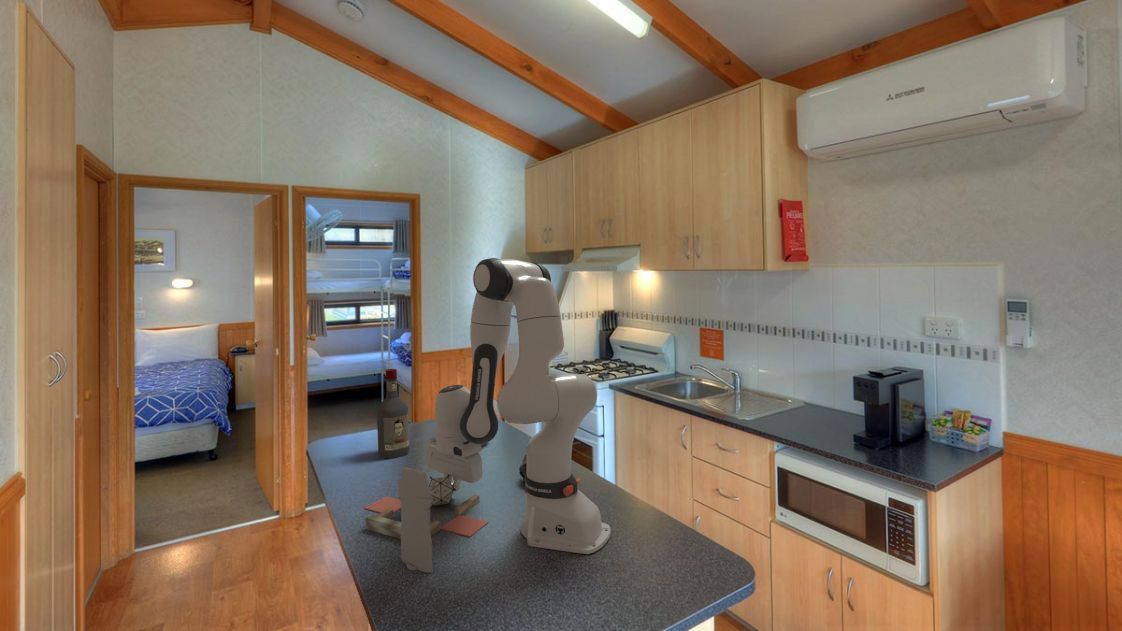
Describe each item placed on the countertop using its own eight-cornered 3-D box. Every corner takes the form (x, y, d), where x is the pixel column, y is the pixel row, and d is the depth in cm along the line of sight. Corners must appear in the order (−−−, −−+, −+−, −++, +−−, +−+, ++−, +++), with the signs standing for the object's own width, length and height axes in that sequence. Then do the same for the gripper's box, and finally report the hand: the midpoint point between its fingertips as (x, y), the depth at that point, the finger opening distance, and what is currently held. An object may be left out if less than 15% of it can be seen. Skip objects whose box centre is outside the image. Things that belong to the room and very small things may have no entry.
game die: (444, 520, 145) (445, 502, 139) (417, 506, 147) (417, 487, 140) (461, 494, 152) (463, 475, 145) (436, 481, 153) (436, 462, 147)
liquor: (376, 453, 187) (372, 369, 184) (400, 447, 193) (397, 366, 190) (387, 460, 180) (384, 373, 177) (412, 453, 186) (409, 369, 184)
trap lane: (479, 502, 148) (479, 491, 148) (418, 544, 126) (418, 532, 125) (431, 491, 155) (431, 481, 155) (366, 529, 133) (365, 517, 133)
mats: (488, 523, 136) (488, 521, 136) (469, 537, 129) (469, 536, 129) (385, 497, 151) (385, 496, 151) (364, 508, 144) (364, 507, 144)
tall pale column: (393, 561, 118) (390, 466, 116) (408, 553, 122) (405, 460, 120) (425, 577, 112) (422, 477, 110) (440, 568, 116) (437, 471, 114)
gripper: (419, 438, 153) (421, 484, 155) (468, 453, 141) (469, 503, 142) (436, 432, 158) (438, 477, 160) (485, 446, 146) (486, 494, 147)
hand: (453, 489), depth 151 cm, fingers closed
